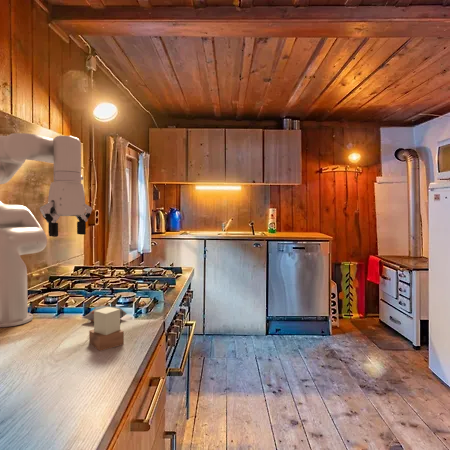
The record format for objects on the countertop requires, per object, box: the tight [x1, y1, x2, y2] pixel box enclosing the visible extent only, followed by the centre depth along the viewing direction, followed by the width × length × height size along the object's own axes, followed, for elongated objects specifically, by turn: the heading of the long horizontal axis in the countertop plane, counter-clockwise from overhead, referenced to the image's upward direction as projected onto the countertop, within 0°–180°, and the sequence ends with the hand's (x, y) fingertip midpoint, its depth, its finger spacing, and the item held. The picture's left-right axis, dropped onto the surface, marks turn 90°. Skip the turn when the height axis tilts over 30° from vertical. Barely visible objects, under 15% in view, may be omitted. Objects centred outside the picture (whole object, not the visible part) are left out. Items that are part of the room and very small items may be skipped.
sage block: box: [93, 306, 121, 335], centre depth 98 cm, size 5×5×6 cm
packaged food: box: [82, 305, 128, 323], centre depth 118 cm, size 9×12×5 cm
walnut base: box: [88, 329, 125, 352], centre depth 98 cm, size 7×7×4 cm
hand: (68, 235), depth 104 cm, fingers open, 9 cm apart
